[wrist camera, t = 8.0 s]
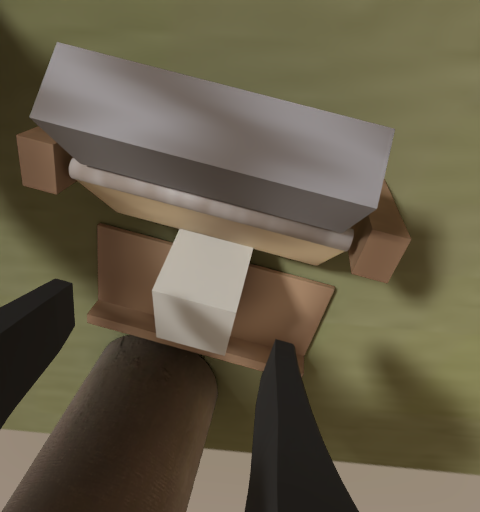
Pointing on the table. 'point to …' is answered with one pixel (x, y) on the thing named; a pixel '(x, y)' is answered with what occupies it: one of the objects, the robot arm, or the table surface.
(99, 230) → the frame
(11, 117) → the table surface
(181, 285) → the stone block
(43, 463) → the pillar candle
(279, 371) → the robot arm
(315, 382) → the table surface
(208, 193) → the trapdoor
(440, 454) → the table surface
